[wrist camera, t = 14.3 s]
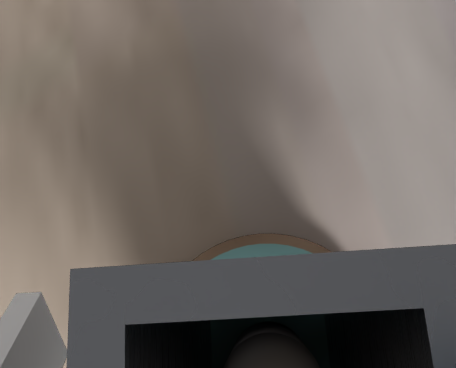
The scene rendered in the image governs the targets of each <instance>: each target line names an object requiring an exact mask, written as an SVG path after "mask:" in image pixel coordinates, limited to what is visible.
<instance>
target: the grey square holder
mask: <svg viewBox="0 0 456 368" xmlns="http://www.w3.org/2000/svg"><path fill="white" fill-rule="evenodd" d="M309 314H324V316H325V325H326V334H327V343H328V352H329V361H330V368H456V244H452V245H436V246H421V247H405V248H390V249H374V250H358V251H343V252H327V253H312V254H296V255H281V256H265V257H250V258H234V259H219V260H203V261H188V262H172V263H156V264H141V265H125V266H110V267H94V268H79V269H70V293H69V321H68V348H67V368H212V348H211V325H210V320H219V319H237V318H255V317H273V316H291V315H309Z"/></svg>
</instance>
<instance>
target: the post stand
mask: <svg viewBox="0 0 456 368" xmlns="http://www.w3.org/2000/svg"><path fill="white" fill-rule="evenodd" d="M327 252H331V251H329V250H328V249H326V248H324V247H322V246H320V245H318V244H315V243H313V242H310V241H308V240H305V239H301V238H297V237H294V236H289V235H281V234H254V235H247V236H242V237H238V238H234V239H231V240H228V241H225V242H223V243H221V244H218V245H216V246H214V247H212V248H210V249H209V250H207V251H205V252H204V253H202V254H201V255H199V256H198V257H197V258H195V259H194V260H193V261H203V260H219V259H234V258H250V257H265V256H281V255H296V254H312V253H327ZM210 325H211V348H212V368H330V361H329V352H328V343H327V334H326V325H325V316H324V314H309V315H291V316H273V317H255V318H237V319H219V320H210Z"/></svg>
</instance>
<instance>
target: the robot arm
mask: <svg viewBox="0 0 456 368" xmlns="http://www.w3.org/2000/svg"><path fill="white" fill-rule="evenodd" d="M66 358H67V349H66V347H65V345H64V342H63V340H62V338H61V336H60V333H59V331H58V329H57V327H56V324H55V322H54V320H53V318H52V315H51V313H50V311H49V309H48V306H47V304H46V302H45V299H44V297H43V295H42V293H41V292H32V293H16V294H15V296H14V298H13V299H12V301H11V303H10V304H9V306H8V308H7V309H6V311H5V312H4V314H3V316H2V317H1V319H0V368H63V365H64V363H65V360H66Z"/></svg>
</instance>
